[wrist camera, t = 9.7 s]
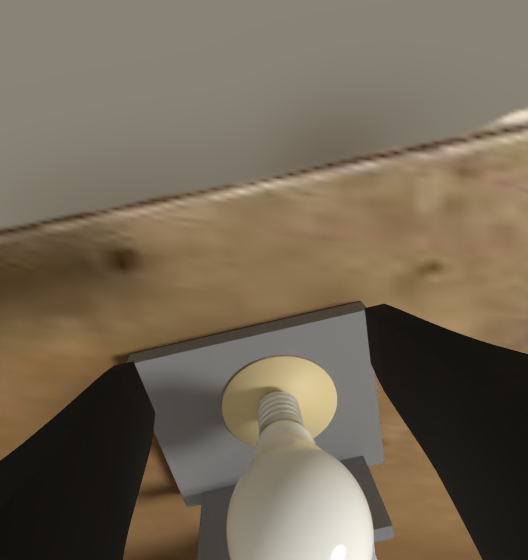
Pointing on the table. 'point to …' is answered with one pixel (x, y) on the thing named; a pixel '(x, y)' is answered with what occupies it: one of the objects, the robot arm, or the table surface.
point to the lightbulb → (296, 496)
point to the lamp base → (244, 400)
